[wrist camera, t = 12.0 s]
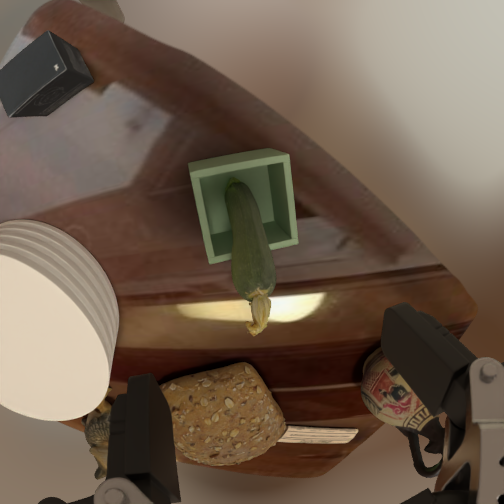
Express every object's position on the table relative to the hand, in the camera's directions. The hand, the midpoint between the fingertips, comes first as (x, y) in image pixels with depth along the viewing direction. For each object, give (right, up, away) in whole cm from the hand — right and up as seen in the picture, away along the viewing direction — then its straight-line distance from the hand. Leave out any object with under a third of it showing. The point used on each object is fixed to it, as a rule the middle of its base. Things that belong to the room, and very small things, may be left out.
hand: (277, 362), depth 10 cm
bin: (-3, +11, +31) cm, 33 cm away
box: (-25, +25, +20) cm, 40 cm away
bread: (-7, -25, +46) cm, 53 cm away
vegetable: (-3, +12, +30) cm, 32 cm away
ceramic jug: (+26, -20, +52) cm, 62 cm away
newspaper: (+15, -42, +59) cm, 74 cm away
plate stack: (-34, -5, +30) cm, 46 cm away
